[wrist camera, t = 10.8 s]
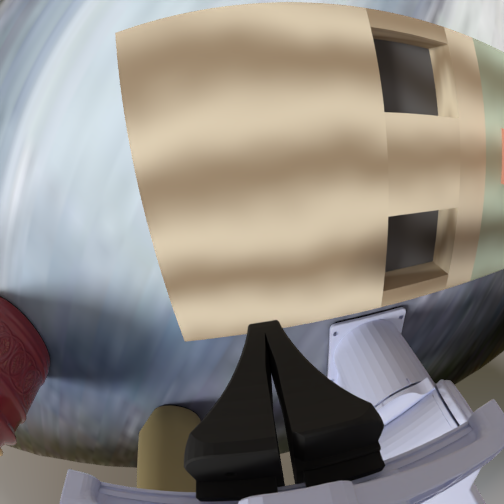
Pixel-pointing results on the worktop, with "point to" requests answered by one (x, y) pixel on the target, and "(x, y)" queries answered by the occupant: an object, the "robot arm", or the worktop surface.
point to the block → (503, 176)
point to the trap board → (312, 160)
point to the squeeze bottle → (165, 450)
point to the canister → (18, 369)
